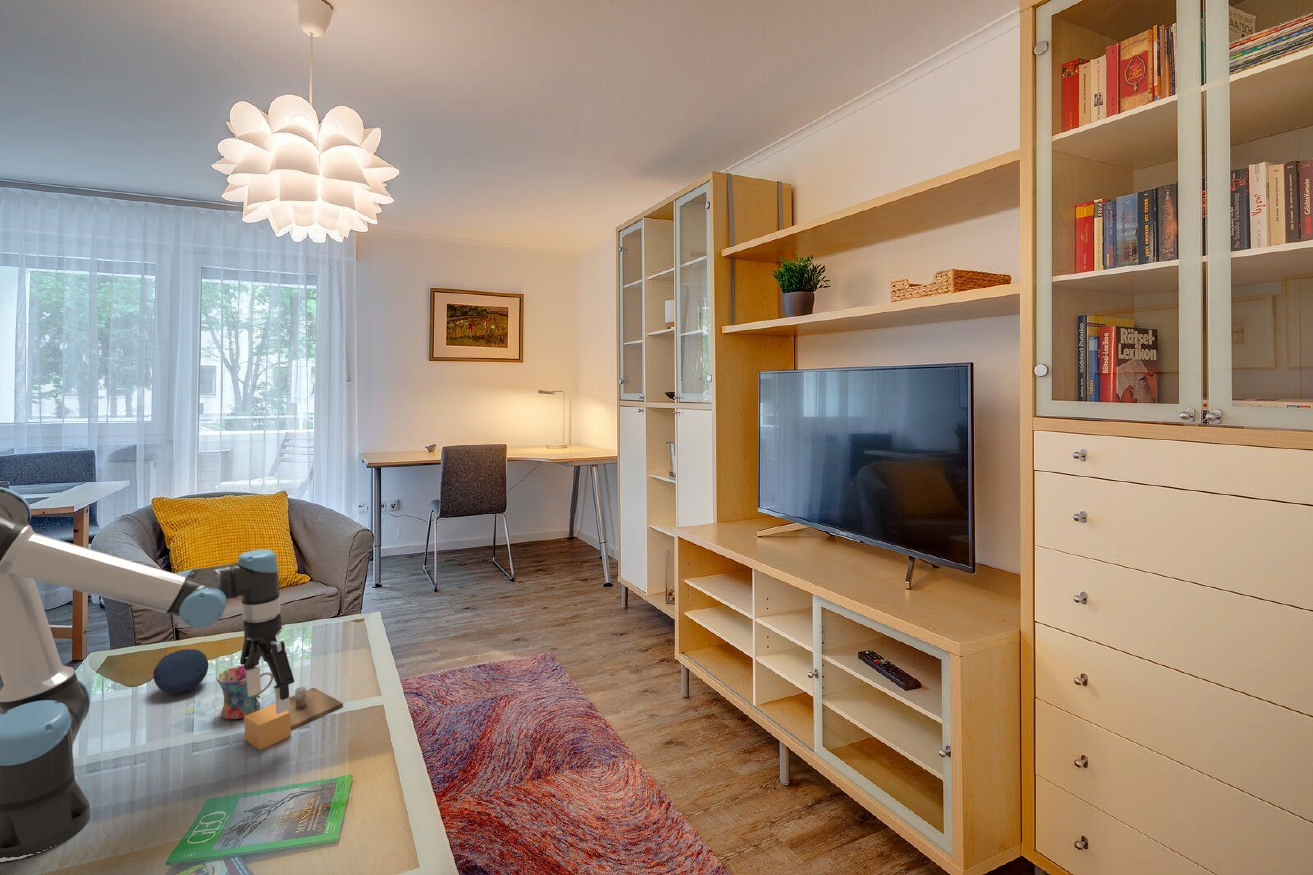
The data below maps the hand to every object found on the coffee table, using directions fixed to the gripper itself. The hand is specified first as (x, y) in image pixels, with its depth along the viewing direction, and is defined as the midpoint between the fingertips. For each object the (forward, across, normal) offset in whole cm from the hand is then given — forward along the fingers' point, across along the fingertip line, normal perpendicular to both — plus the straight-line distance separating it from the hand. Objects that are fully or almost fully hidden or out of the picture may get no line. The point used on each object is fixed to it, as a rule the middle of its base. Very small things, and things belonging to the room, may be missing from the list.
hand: (268, 702), depth 151 cm
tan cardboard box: (+9, 0, 0) cm, 9 cm away
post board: (+9, +6, -10) cm, 15 cm away
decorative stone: (+9, +42, +2) cm, 43 cm away
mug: (+9, +17, -2) cm, 19 cm away
